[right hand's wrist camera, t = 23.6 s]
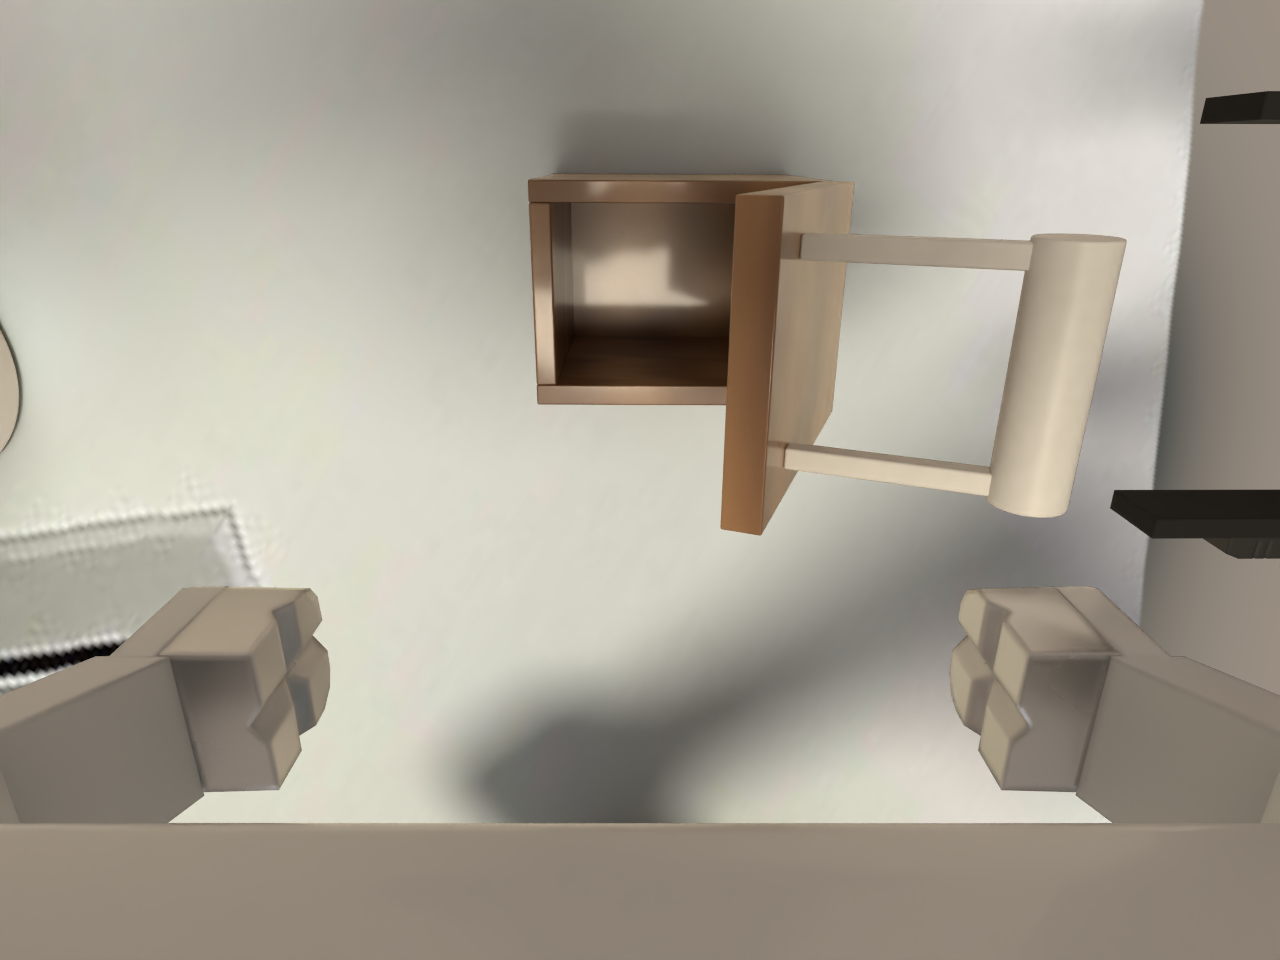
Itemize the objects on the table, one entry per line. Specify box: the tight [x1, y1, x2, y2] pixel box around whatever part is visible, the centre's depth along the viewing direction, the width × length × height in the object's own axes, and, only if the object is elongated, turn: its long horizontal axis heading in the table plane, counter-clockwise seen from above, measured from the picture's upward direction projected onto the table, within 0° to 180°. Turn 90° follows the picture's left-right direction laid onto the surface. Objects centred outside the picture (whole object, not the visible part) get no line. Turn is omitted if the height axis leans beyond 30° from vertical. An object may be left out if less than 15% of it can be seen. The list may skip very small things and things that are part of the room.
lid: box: [721, 181, 1127, 535], centre depth 26 cm, size 13×9×9 cm
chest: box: [528, 174, 829, 405], centre depth 39 cm, size 12×9×11 cm
